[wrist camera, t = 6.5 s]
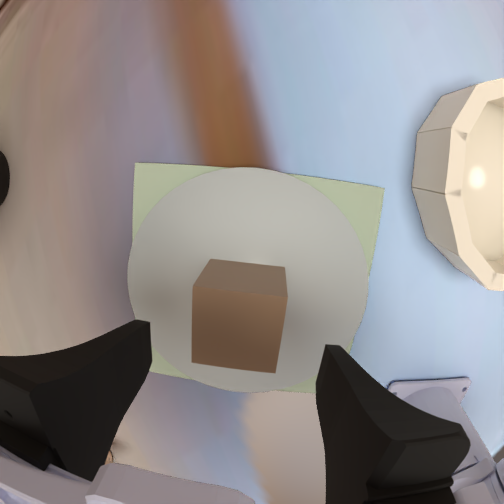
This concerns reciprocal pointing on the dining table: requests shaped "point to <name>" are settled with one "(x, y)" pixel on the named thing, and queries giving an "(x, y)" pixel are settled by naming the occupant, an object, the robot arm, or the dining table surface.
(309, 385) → the mat
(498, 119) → the bowl
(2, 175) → the drinking cup
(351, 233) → the cover
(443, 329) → the dining table surface
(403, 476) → the robot arm
